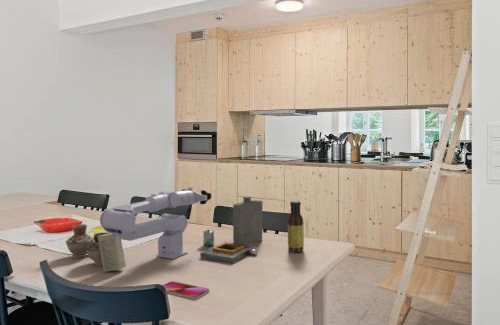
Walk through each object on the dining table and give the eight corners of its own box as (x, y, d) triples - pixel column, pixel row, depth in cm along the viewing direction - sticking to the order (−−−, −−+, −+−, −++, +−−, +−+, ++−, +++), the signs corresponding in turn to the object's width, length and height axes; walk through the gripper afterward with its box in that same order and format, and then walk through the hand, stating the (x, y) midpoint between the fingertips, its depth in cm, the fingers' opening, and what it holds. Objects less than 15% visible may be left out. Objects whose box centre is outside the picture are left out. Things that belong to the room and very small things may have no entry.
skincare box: (126, 266, 139) (121, 231, 139) (120, 270, 135) (114, 233, 135) (109, 268, 140) (104, 233, 140) (102, 272, 136) (97, 236, 136)
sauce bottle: (306, 251, 161) (307, 202, 160) (294, 254, 158) (295, 203, 156) (296, 247, 167) (296, 199, 165) (284, 250, 163) (284, 201, 162)
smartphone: (171, 280, 127) (210, 289, 120) (171, 284, 127) (211, 292, 120) (155, 288, 121) (195, 297, 113) (155, 291, 121) (195, 301, 113)
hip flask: (236, 246, 168) (236, 199, 166) (230, 245, 171) (230, 198, 169) (263, 240, 179) (263, 195, 177) (257, 238, 182) (257, 194, 180)
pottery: (85, 251, 162) (85, 221, 161) (126, 262, 147) (125, 230, 146) (58, 258, 152) (57, 226, 152) (98, 270, 138) (98, 236, 137)
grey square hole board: (239, 264, 144) (239, 256, 144) (200, 258, 152) (200, 250, 152) (262, 252, 160) (262, 244, 160) (225, 246, 168) (225, 239, 168)
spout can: (210, 247, 167) (210, 230, 166) (201, 246, 169) (201, 229, 168) (216, 245, 171) (215, 228, 170) (207, 243, 173) (207, 227, 172)
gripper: (197, 188, 157) (217, 186, 169) (168, 187, 165) (189, 185, 176) (197, 206, 157) (217, 203, 169) (168, 204, 165) (189, 201, 176)
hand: (203, 195), depth 173 cm, fingers open, 7 cm apart
